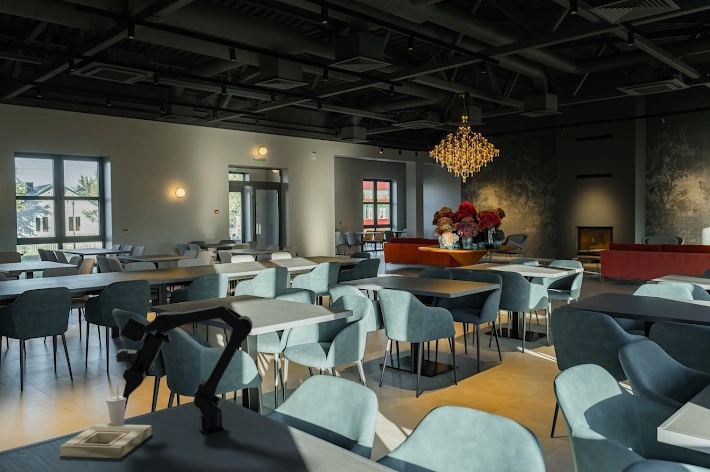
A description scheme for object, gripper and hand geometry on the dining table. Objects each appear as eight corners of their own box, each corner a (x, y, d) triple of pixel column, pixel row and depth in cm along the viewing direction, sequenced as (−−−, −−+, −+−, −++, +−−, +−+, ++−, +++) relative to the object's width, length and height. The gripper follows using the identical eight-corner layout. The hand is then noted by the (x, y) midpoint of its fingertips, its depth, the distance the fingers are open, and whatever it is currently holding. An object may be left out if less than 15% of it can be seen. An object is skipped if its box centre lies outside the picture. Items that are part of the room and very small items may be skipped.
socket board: (96, 432, 192) (96, 423, 192) (151, 434, 189) (151, 424, 189) (60, 456, 173) (59, 445, 173) (120, 458, 170) (120, 447, 170)
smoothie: (120, 430, 193) (118, 388, 193) (103, 429, 194) (101, 387, 194) (131, 423, 199) (130, 382, 199) (114, 423, 201) (113, 382, 200)
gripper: (133, 333, 197) (111, 375, 196) (118, 344, 178) (95, 391, 178) (164, 347, 198) (143, 388, 198) (153, 360, 180) (129, 406, 179)
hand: (127, 393), depth 188 cm, fingers open, 9 cm apart
